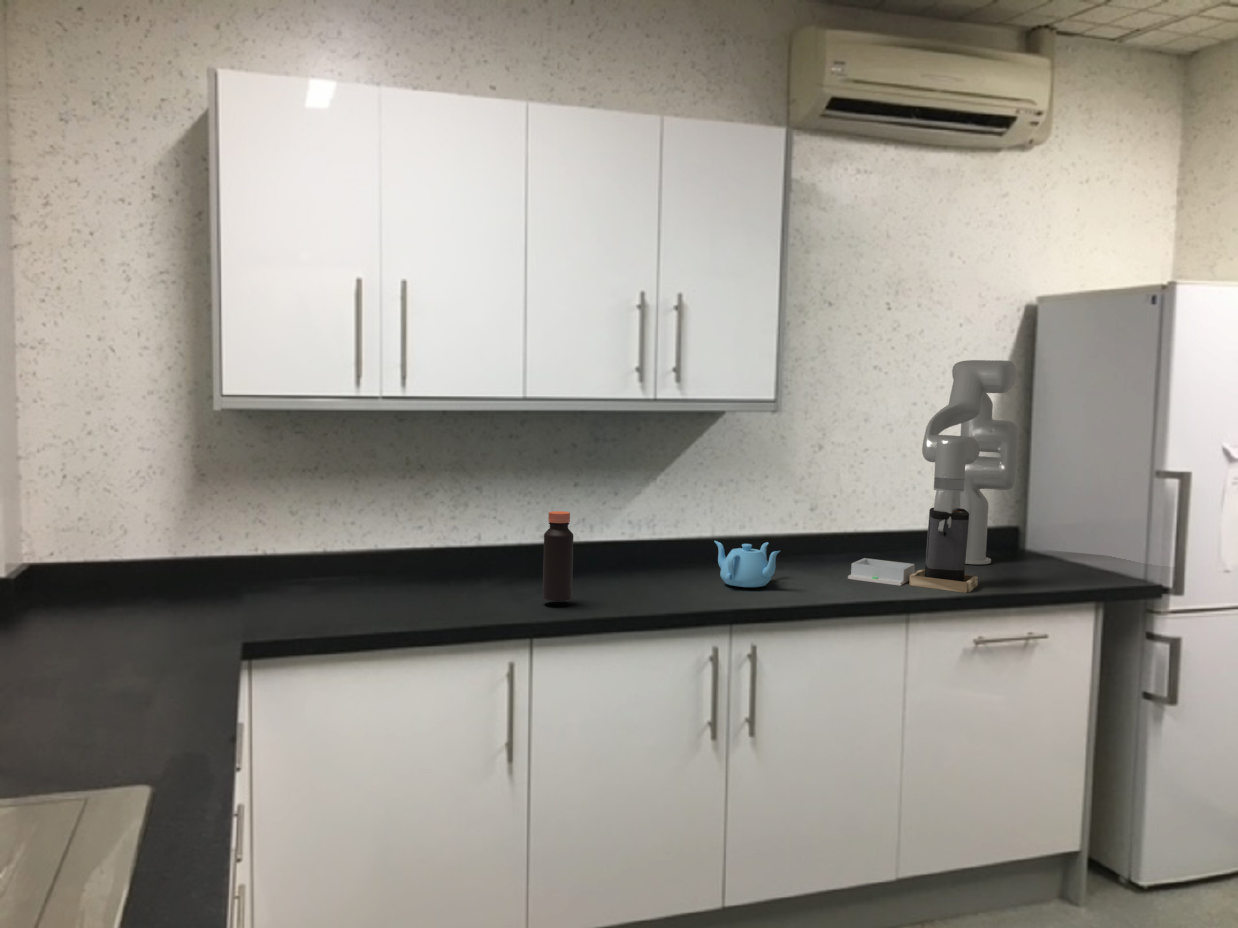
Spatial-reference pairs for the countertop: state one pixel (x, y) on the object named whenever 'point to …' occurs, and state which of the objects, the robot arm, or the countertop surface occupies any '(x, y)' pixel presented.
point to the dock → (881, 571)
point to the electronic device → (947, 545)
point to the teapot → (746, 565)
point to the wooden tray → (943, 582)
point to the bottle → (558, 558)
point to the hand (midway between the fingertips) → (945, 553)
